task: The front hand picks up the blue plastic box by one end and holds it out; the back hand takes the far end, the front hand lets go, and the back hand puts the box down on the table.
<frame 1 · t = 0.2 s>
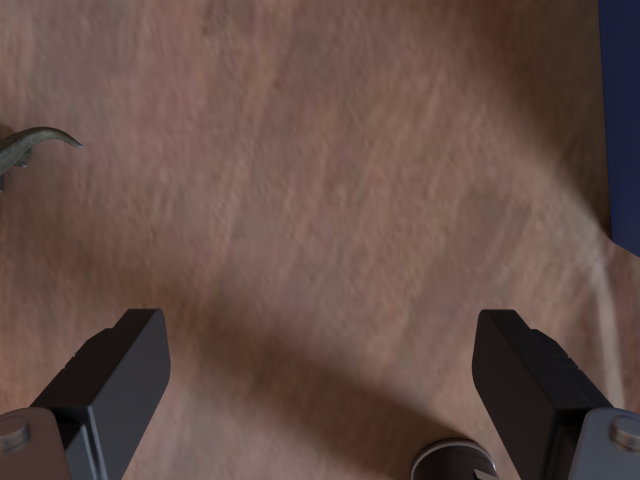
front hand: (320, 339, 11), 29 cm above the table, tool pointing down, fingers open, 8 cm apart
box: (639, 79, 37), on the table
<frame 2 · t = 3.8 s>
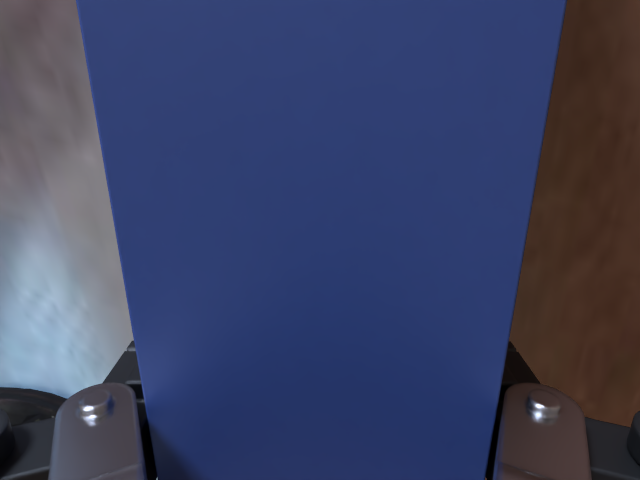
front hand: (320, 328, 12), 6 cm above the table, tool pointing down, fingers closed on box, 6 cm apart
figurine: (21, 479, 21), on the table
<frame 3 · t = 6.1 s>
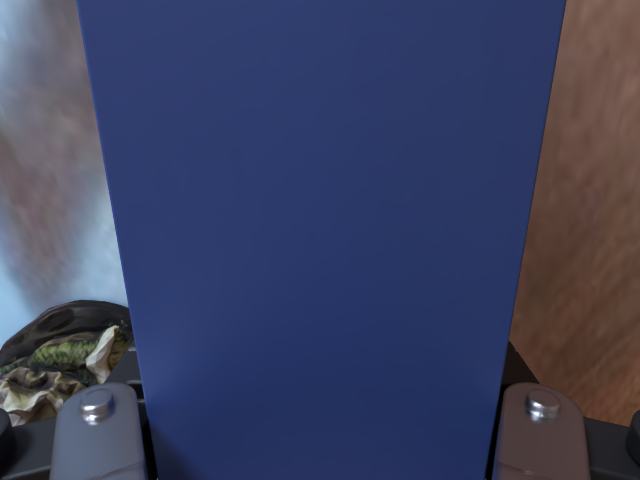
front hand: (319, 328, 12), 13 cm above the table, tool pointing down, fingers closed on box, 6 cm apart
figurine: (92, 376, 28), on the table
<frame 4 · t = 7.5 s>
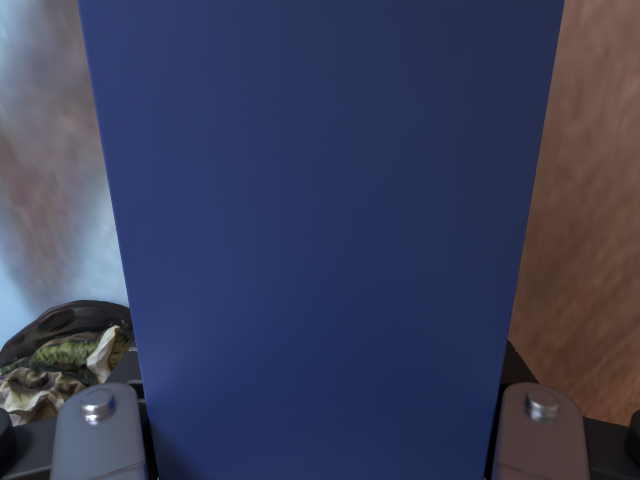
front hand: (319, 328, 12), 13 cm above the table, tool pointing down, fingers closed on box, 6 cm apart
figurine: (93, 376, 28), on the table
when the front hand's fingers open (13 cm above the table, at t = 8.6 s): box stays where it is, held by the back hand.
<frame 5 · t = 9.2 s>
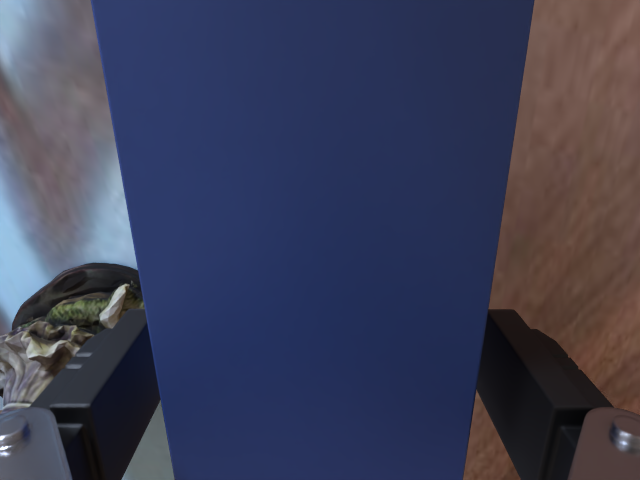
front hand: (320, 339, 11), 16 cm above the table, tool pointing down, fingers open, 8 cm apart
figurine: (103, 336, 30), on the table
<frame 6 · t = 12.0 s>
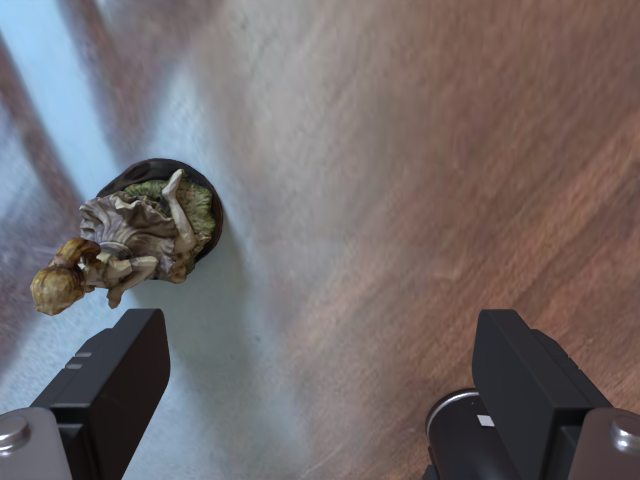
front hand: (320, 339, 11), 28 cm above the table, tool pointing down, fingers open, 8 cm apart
figurine: (158, 220, 40), on the table
when the back hand's fingers open (7 cm above the table, at t = 17.0 s): box stays where it is, on the table.
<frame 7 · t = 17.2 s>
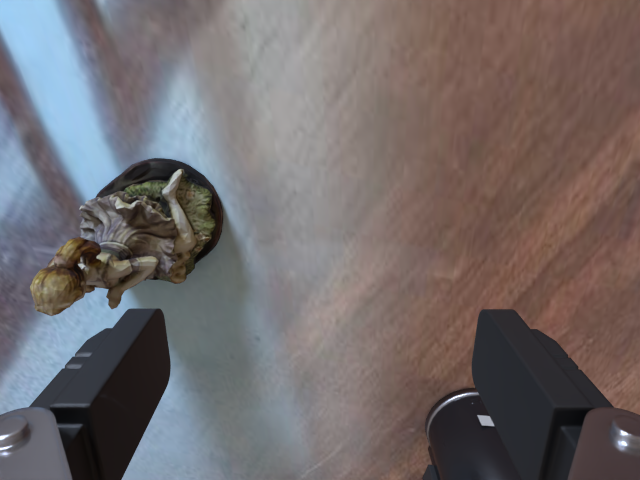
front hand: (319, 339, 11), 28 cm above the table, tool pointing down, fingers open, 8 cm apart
figurine: (158, 220, 40), on the table
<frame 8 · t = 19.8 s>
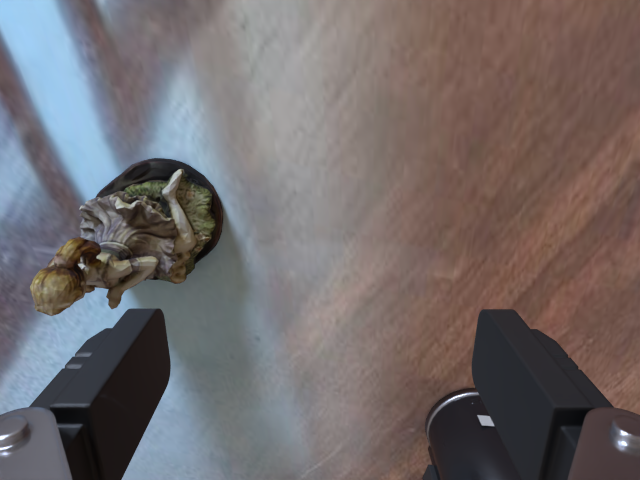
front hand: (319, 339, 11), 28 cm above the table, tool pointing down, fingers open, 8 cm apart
figurine: (158, 220, 40), on the table
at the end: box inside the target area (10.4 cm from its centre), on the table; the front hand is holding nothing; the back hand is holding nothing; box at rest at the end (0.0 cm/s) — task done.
